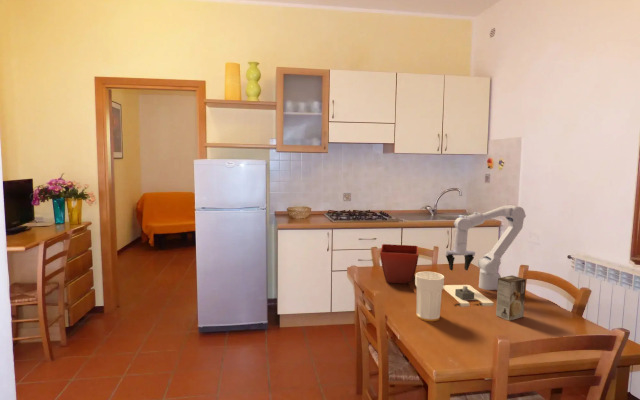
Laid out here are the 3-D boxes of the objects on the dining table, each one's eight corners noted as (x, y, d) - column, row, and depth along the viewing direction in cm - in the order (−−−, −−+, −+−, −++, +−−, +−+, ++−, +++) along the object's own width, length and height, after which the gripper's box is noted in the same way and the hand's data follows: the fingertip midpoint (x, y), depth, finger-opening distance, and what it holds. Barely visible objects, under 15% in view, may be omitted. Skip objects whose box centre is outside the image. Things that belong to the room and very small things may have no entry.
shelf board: (469, 287, 195) (469, 275, 195) (493, 306, 171) (494, 291, 171) (439, 288, 194) (440, 275, 193) (460, 306, 170) (461, 292, 170)
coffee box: (510, 311, 166) (512, 274, 164) (523, 317, 160) (526, 279, 158) (495, 315, 161) (497, 277, 160) (509, 321, 156) (511, 282, 154)
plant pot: (379, 284, 200) (379, 251, 198) (381, 273, 218) (382, 243, 216) (417, 287, 196) (418, 254, 194) (416, 275, 214) (417, 245, 212)
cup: (438, 325, 151) (440, 281, 150) (409, 318, 157) (411, 276, 155) (445, 315, 161) (447, 274, 159) (418, 309, 167) (420, 269, 165)
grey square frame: (466, 294, 181) (466, 288, 181) (473, 299, 175) (474, 292, 175) (455, 295, 180) (455, 289, 180) (462, 300, 174) (462, 293, 174)
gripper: (471, 240, 194) (468, 267, 195) (442, 240, 192) (440, 267, 194) (478, 244, 187) (475, 271, 188) (448, 243, 185) (446, 271, 187)
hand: (458, 269), depth 191 cm, fingers open, 7 cm apart
